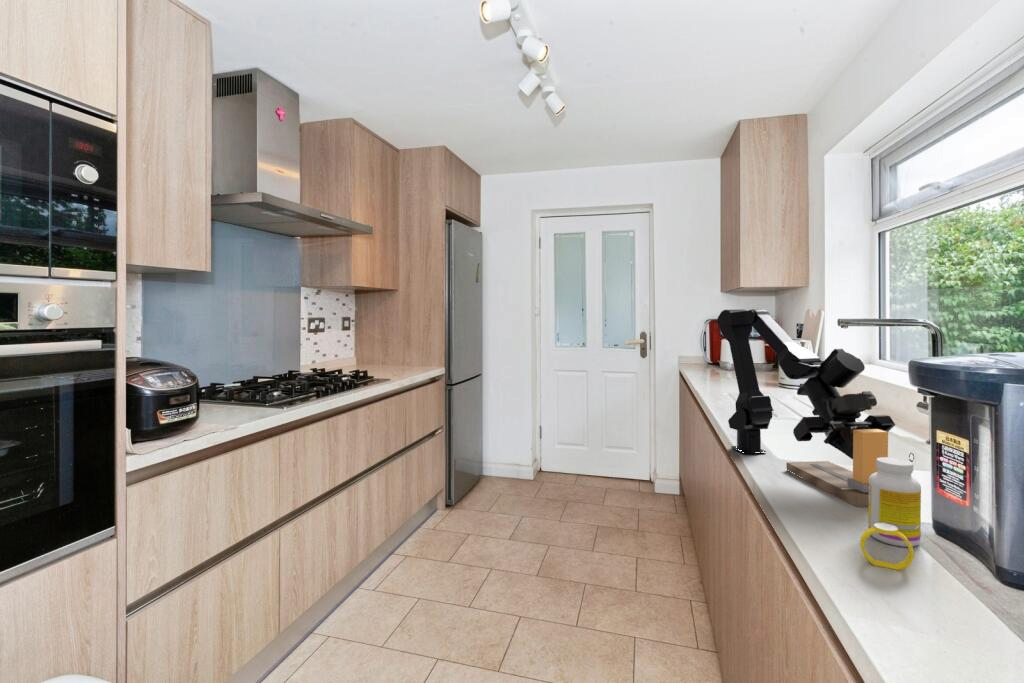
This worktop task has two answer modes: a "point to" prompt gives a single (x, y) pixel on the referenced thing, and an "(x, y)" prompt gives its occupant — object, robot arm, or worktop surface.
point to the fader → (867, 456)
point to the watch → (887, 530)
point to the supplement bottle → (895, 501)
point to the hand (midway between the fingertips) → (864, 464)
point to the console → (830, 480)
